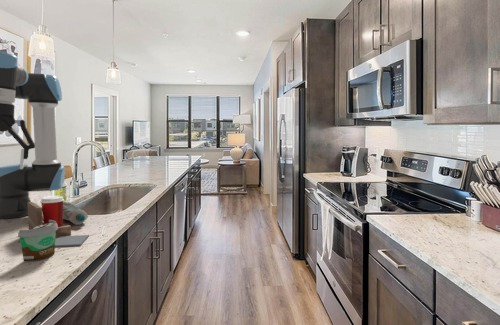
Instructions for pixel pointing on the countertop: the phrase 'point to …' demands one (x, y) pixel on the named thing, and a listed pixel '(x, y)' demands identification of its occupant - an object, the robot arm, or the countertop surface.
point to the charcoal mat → (70, 240)
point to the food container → (38, 241)
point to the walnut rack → (37, 219)
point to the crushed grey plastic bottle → (73, 213)
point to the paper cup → (52, 209)
